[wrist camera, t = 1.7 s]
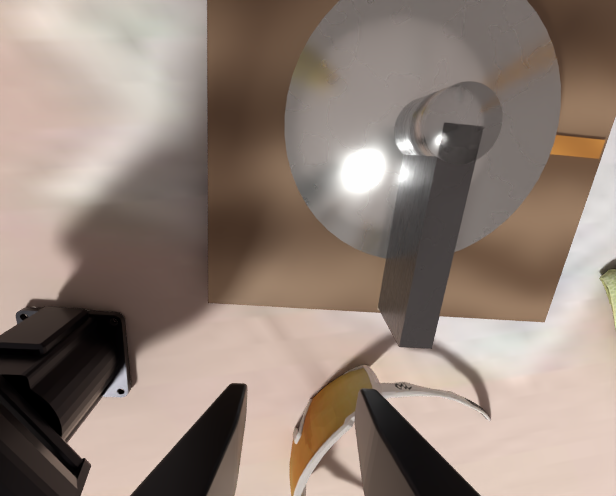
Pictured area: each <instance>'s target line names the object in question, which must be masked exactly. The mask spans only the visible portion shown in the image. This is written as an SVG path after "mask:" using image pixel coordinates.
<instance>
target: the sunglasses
mask: <svg viewBox="0 0 616 496" xmlns="http://www.w3.org/2000/svg"><path fill="white" fill-rule="evenodd" d="M361 388H366V389H375V390H377V391H378V392H379V393H380V394H381V395H382V396H383V397H384V398H385V399H386V398H393V397H394V398H397V397H410V396H430V397H442V398H446V399H450V400H454V401H457V402H459V403H461V404H464V405H466V406H468V407H470V408H472V409H474V410H476V411H478V412H480V413H481V414H482V415H483V416H484V417H485V418H486V419H487V420H489V421H491V419H490V417H489V416H488V415H487V413H486V412H485V411H484V410H483V409H482V408H481V407H480V406H478V405H477V404H475V403H474V402H472V401H470V400H468V399H466V398H464V397H462V396H460V395H457V394H455V393H453V392H451V391H443V390H436V389H430V388H425V387H421V386H416V385H413V384H410V383H406V382H398V383H379V380H378V378H377V376H376V375H375V373H374V372H373V371H372V369H371V368H370V367H369V366H367V365H361V366H358V367H355V368H353V369H351V370H349V371H346V372H345V373H344V374H343V375H342V376H340V377H338V378H336V379H335V380H334V381H332V382H331V383H329V384H328V385H327V386H325V387H324V388H323V389H322V390H321V391H320V392H319V393H318V394H317V395H316V396H315V397H314V398H313V399H310V400H309V402H308V404H307V407H306V409H305V411H304V413H303V417H302V420H301V423H300V427H299V428H294V432H293V443H292V450H291V458H290V486H291V496H306V483H307V481H308V479H309V477H310V475H311V473H312V472H313V470H314V469H315V467H316V466H317V464H318V463H319V461H320V460H321V459H322V457H323V456H324V454H325V453H326V452H327V451H328V450H329V449H330V448H331V447H332V445H333V444H334V443H335V442H336V441H337V440H338V439H339V438H340V437H341V436H342V435H343V434H344V433H346V432H347V431H348V430H349V429H350V428H351V427H352V426H353V423H354V421H355V410H356V403H357V397H358V392H359V390H360V389H361Z"/></svg>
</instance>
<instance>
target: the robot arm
mask: <svg viewBox="0 0 616 496" xmlns="http://www.w3.org/2000/svg"><path fill="white" fill-rule="evenodd" d="M25 314H26V315H27V316H28V317H27V316H26V315H25ZM113 318H114V319H116V320H117V321H118V322H115V321H114V320H113ZM16 320H17V325H16V326H14V327H13V328H11V329H9V330H8V331H6V332H5V333H3V334H2V335H0V496H81V493H82V490H83V487H84V485H85V482H86V479H87V476H88V473H89V470H90V468H91V464H90V463H89V462H88V461H87V460H86V459H85V458H83V459H82V458H81V457H80V456H79V455H78V454H77V453H76V452H75V451H74V450H73V449H72V448H71V447H70V446H69V445H68V444H67V443H68V441H69V440H70V439H71V437H72V436H73V435H74V433H75V432H76V431H77V429H78V428H79V427H80V425H81V424H82V423H83V422H84V420H85V419H86V418H87V416H88V415H89V414H90V412H91V411H92V410H93V408H94V407H95V406H96V404H97V403H98V402H99V401H100V399H101V398H102V397H125V396H127V394H128V393H129V391H130V390H131V383H130V372H129V361H128V350H127V338H126V327H125V318H124V316H123V315H122V314H121V313H118V312H105V311H88V310H86V309H81V308H63V307H44V308H31V307H26V308H23V309H22V310H20V311H18V312H17V313H16ZM120 388H121V389H123V390H121V389H120ZM246 411H247V385H246V384H241V383H231V384H230V385H229V386H228V387H227V388H226V389H225V390H224V391H223V392H222V394H221V395H220V396H219V397H218V398H217V399H216V400H215V401H214V403H213V404H212V405H211V406H210V407H209V408H208V409H207V410H206V411H205V413H204V414H203V415H202V416H201V417H200V418H199V419H198V420H197V422H196V423H195V424H194V425H193V426H192V427H191V428H190V429H189V430H188V432H187V433H186V434H185V435H184V436H183V437H182V438H181V439H180V441H179V442H178V443H177V444H176V445H175V446H174V447H173V448H172V450H171V451H170V452H169V453H168V454H167V455H166V456H165V457H164V458H163V460H162V461H161V462H160V463H159V464H158V465H157V466H156V467H155V469H154V470H153V471H152V472H151V473H150V474H149V475H148V476H147V477H146V479H145V480H144V481H143V482H142V483H141V484H140V485H139V486H138V488H137V489H136V490H135V491H134V492H133V493H132V494H131V495H130V496H234V495H235V490H236V485H237V479H238V473H239V465H240V458H241V451H242V443H243V436H244V428H245V421H246ZM355 430H356V437H357V445H358V453H359V461H360V469H361V477H362V484H363V490H364V495H365V496H481V495H480V494H479V493H478V492H477V491H476V490H475V489H474V488H473V487H472V486H471V485H470V484H469V483H468V482H467V481H466V480H465V479H464V478H463V477H462V476H461V475H460V474H459V473H458V472H457V471H456V470H455V469H454V468H453V467H452V466H451V465H450V464H449V463H448V462H447V461H446V460H445V459H444V458H443V457H442V456H441V455H440V454H439V453H438V452H437V451H436V450H435V449H434V448H433V447H432V446H431V445H430V444H429V443H428V442H427V441H426V440H425V439H424V438H423V437H422V436H421V435H420V434H419V433H418V432H417V430H416V429H415V428H414V427H413V426H412V425H411V424H410V423H409V422H408V421H407V420H406V419H405V418H404V417H403V416H402V415H401V414H400V413H399V412H398V411H397V410H396V409H395V408H394V407H393V406H392V405H391V404H390V403H389V402H388V401H387V400H386V399H385V398H384V397H383V396H382V395H381V394H380V393H379V392H378V391H377V390H375V389H366V388H361V389H360V390H359V392H358V397H357V403H356V410H355Z"/></svg>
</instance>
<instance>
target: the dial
mask: <svg viewBox="0 0 616 496" xmlns="http://www.w3.org/2000/svg"><path fill="white" fill-rule="evenodd" d="M560 107H561V82H560V74H559V66H558V62H557V58H556V54H555V50H554V47H553V44H552V42H551V39H550V37H549V34H548V32H547V30H546V28H545V26H544V24H543V23H542V21H541V19H540V17H539V16H538V14H537V12H536V11H535V10H534V9H533V7H532V6H531V5H530V4H529V3H528V1H527V0H340V1H339V2H337V4H336V5H335V6H334V7H333V8H332V9H331V10H330V11H329V12H328V13H327V14H326V15H325V17H324V18H323V19H322V20H321V22H320V23H319V25H318V26H317V27H316V29H315V30H314V32H313V33H312V34H311V36H310V38H309V39H308V41H307V43H306V45H305V47H304V49H303V51H302V53H301V54H300V57H299V59H298V62H297V64H296V67H295V70H294V72H293V75H292V79H291V83H290V87H289V91H288V95H287V101H286V109H285V143H286V151H287V157H288V161H289V165H290V169H291V173H292V175H293V178H294V180H295V183H296V186H297V188H298V190H299V192H300V194H301V196H302V198H303V199H304V201H305V203H306V205H307V206H308V207H309V209H310V210H311V212H312V213H313V214H314V216H315V217H316V218H317V219H318V220H319V221H320V222H321V223H322V225H323V226H324V227H325V228H326V229H327V230H328V231H330V232H331V233H332V234H333V235H335V236H336V237H337V238H339V239H340V240H341V241H343V242H345V243H346V244H348V245H350V246H352V247H353V248H355V249H358V250H360V251H362V252H365V253H367V254H370V255H373V256H377V257H381V258H385V259H386V261H385V267H384V273H383V279H382V285H381V290H380V296H379V302H378V309H379V310H380V312H381V314H382V316H383V318H384V320H385V322H386V323H387V325H388V327H389V329H390V331H391V333H392V335H393V336H394V338H395V340H396V342H397V344H398V346H399V347H411V348H431V349H432V345H433V341H434V337H435V332H436V328H437V324H438V320H439V315H440V311H441V307H442V303H443V298H444V294H445V290H446V286H447V281H448V277H449V273H450V269H451V264H452V260H453V256H454V252H456V251H459V250H461V249H464V248H466V247H468V246H470V245H472V244H473V243H475V242H477V241H479V240H481V239H482V238H484V237H485V236H487V235H488V234H490V233H491V232H493V231H494V230H495V229H496V228H497V227H499V226H500V225H501V224H502V223H503V222H505V221H506V220H507V219H508V218H509V217H510V216H511V215H512V214H513V213H514V212H515V211H516V210H517V209H518V207H519V206H520V205H521V204H522V202H523V201H524V200H525V198H526V197H527V196H528V195H529V193H530V192H531V190H532V189H533V187H534V185H535V184H536V182H537V181H538V179H539V177H540V175H541V173H542V171H543V169H544V167H545V165H546V163H547V161H548V158H549V155H550V153H551V150H552V147H553V144H554V141H555V137H556V132H557V128H558V124H559V116H560Z"/></svg>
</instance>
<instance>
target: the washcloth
mask: <svg viewBox="0 0 616 496" xmlns="http://www.w3.org/2000/svg"><path fill="white" fill-rule="evenodd" d="M599 279H600V280H601V281H602V283H603V285H604V287H605V290H606V293H607V296H608V299H609V303H610V304H611V306H612V311H613V318H614V325H615V330H616V269H612V270H610V269H609V270H608V271H607V272H606V273H605V274H603V275H602V276H601V277H600V278H599Z"/></svg>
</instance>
